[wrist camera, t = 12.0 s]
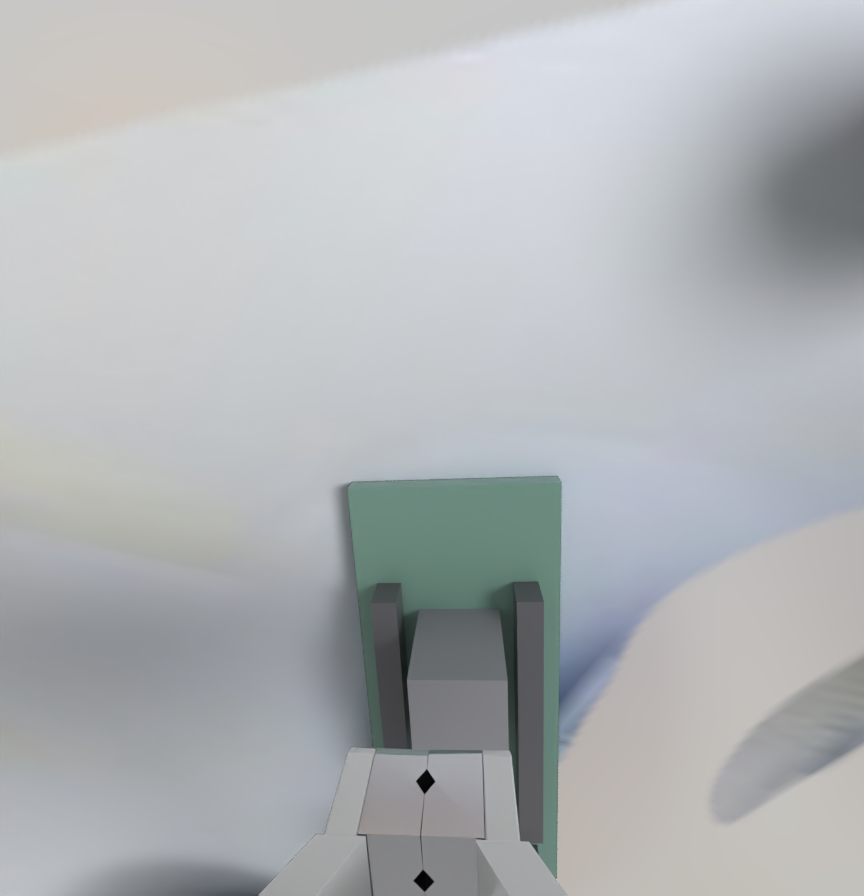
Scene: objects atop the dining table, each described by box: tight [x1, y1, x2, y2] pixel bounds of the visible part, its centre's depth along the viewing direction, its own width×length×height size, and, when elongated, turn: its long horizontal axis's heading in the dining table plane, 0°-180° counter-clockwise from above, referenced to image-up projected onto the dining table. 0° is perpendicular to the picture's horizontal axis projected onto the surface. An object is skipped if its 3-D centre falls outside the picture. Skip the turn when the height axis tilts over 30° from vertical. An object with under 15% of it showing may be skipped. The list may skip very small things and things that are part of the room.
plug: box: [407, 609, 509, 787], centre depth 22 cm, size 4×7×5 cm, turn 3°
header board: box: [347, 476, 562, 879], centre depth 22 cm, size 10×24×8 cm, turn 3°
